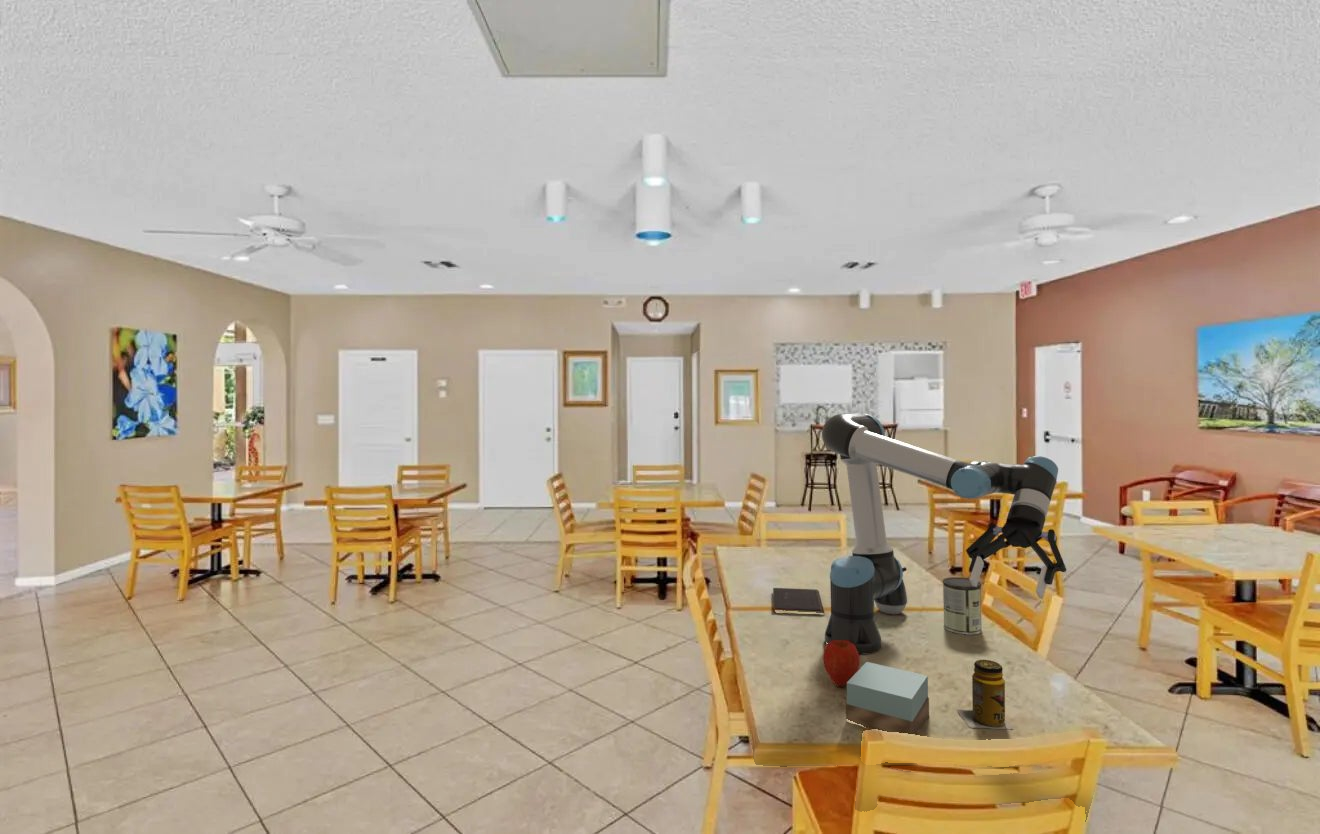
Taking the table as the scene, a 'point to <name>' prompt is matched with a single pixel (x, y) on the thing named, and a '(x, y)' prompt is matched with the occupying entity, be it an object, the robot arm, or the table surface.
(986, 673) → the condiment
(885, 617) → the table surface
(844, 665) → the apple
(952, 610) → the coffee can
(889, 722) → the tower base
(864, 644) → the robot arm
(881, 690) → the tower top
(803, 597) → the hardcover book
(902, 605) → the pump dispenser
